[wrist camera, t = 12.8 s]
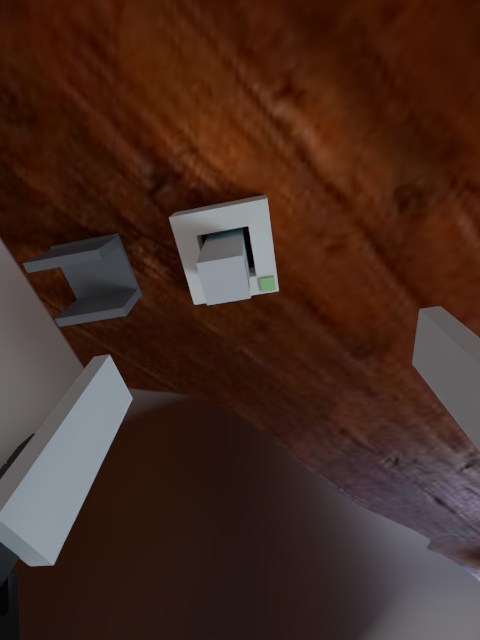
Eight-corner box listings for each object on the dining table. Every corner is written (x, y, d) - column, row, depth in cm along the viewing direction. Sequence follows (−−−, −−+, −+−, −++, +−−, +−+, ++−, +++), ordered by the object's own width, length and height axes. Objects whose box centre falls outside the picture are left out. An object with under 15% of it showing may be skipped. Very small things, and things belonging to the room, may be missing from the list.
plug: (207, 234, 33) (195, 263, 24) (242, 228, 32) (243, 255, 24) (215, 267, 35) (206, 305, 26) (248, 261, 34) (251, 298, 26)
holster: (53, 245, 33) (21, 261, 29) (118, 233, 33) (96, 246, 28) (83, 305, 37) (60, 328, 32) (142, 295, 37) (127, 317, 32)
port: (174, 212, 32) (168, 218, 29) (265, 194, 31) (267, 198, 28) (197, 294, 36) (194, 305, 34) (276, 280, 36) (279, 292, 33)
